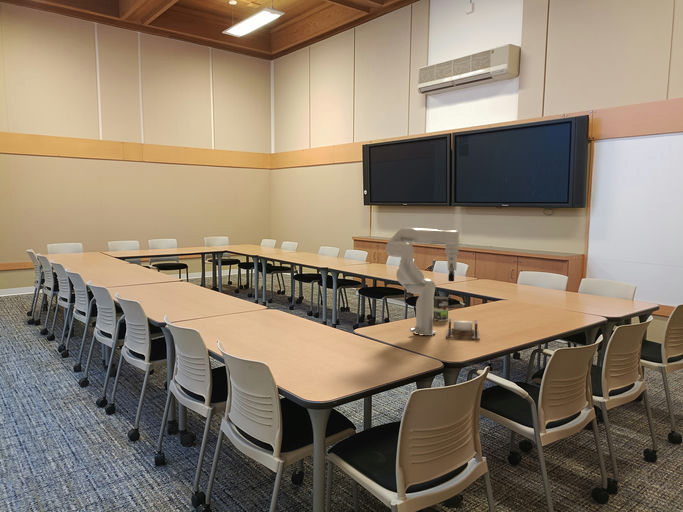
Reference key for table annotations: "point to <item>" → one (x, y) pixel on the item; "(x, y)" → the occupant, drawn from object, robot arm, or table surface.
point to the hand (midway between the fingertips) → (451, 279)
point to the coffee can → (440, 308)
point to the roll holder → (462, 333)
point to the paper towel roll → (463, 325)
